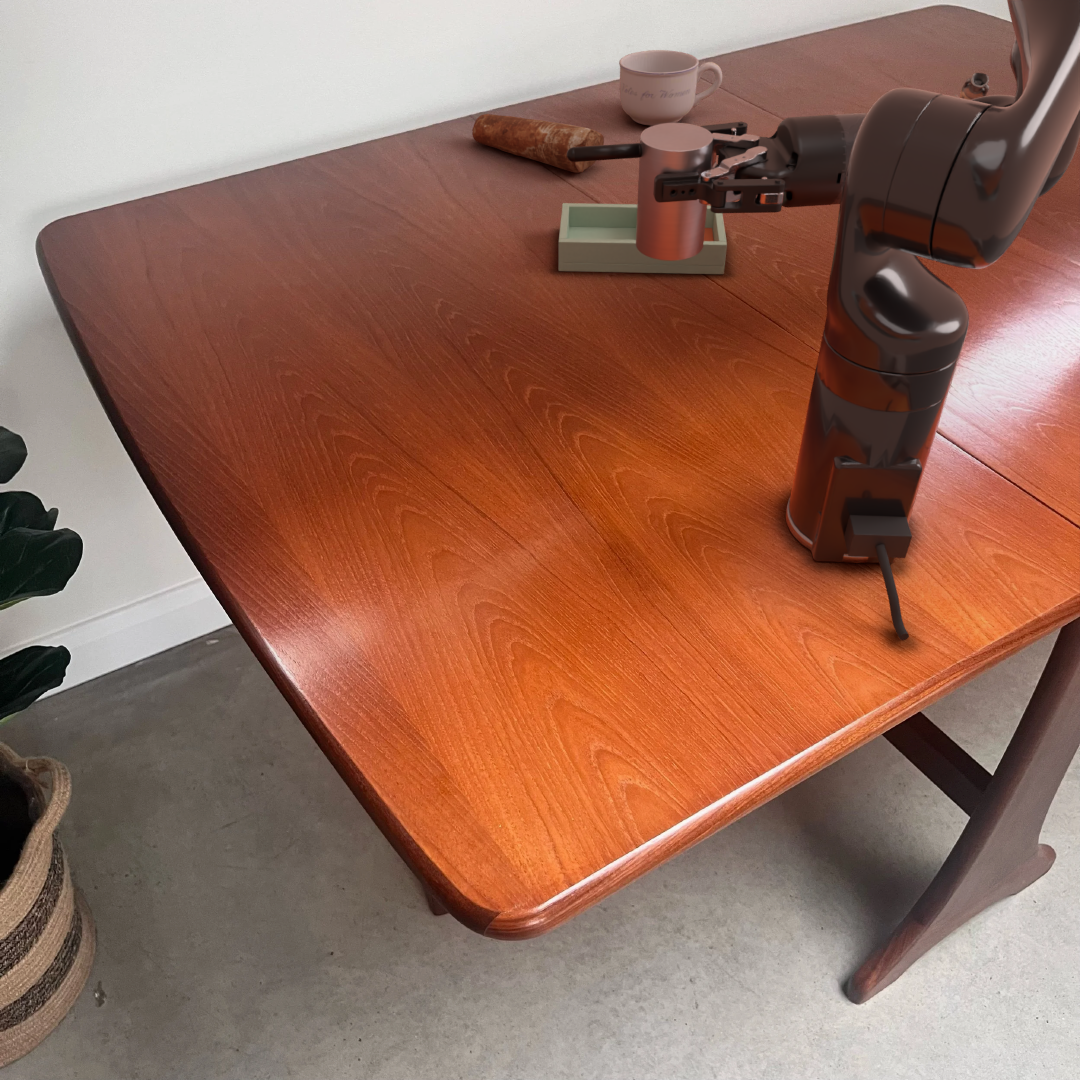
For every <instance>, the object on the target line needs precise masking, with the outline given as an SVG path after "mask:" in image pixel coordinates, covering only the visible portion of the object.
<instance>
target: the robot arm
mask: <svg viewBox="0 0 1080 1080" xmlns="http://www.w3.org/2000/svg"><path fill="white" fill-rule="evenodd" d="M1006 1H1007V6H1008V11H1009V16H1010V20H1011V24H1012V28H1013V32H1014V35H1015V37H1014V40H1013V43H1012V46H1011V49H1010V53H1009V65H1010V68H1011V71H1012V73H1013V77H1014V79H1015V83H1016V84H1015V85H1016V91H1015V95H1009V94H990V95H986V96H983V97H979V98H975V99H971V100H968V99H963V98H960V96H955V95H954V96H953V95H949V94H943V93H939V92H935V91H930V90H925V89H919V88H915V87H903V86H902V87H896V88H892V89H890V90H888V91H887V92H885V93H883V94H882V95H880V97H879V98H877V100H876V101H875V102H874V103H873V104H872V105H871V107H870V108H869V110H868V111H867V113H866V112H854V113H853V112H852V113H836V114H820V115H819V114H818V115H805V116H789V117H786V118H784V119H782V120H781V121H780V123H779V124H778V126H777V128H776V131H775V132H774V133H773V134H772V136H770V137H768V136H759V135H756V134H748V133H747V132H748V123H747V122H744V121H735V122H725V123H717V124H708V125H699V126H700V127H703V128H705V129H707V130H708V131H709V132H711V134H712V135H713V146H712V157H711V167H710V170H708V171H705V172H702V173H701V177H699V174H698V172H687V173H671V174H659V175H657V176H656V177H655V179H654V191H653V195H654V198H655V200H656V201H657V202H659V203H661V202H676V201H691V200H697V199H699V203H701V204H706V205H707V206H708V205H709V206H711V209H710V210H711V212H713V213H722V214H760V213H761V214H762V213H763V214H764V213H769V214H770V213H780V212H781V211H782V208H783V207H784V208H803V207H817V206H819V207H820V206H831V205H839V210H838V219H837V224H836V225H837V226H836V232H835V239H834V240H835V242H834V246H833V247H834V249H833V255H832V262H831V267H830V268H831V269H830V273H829V279H828V285H827V292H826V316H825V321H824V326H823V327H824V328H823V331H822V336H821V340H820V346H819V352H818V356H817V361H816V365H815V370H814V375H813V380H812V385H811V390H810V395H809V400H808V405H807V406H808V407H807V411H806V415H805V420H804V425H803V430H802V434H801V435H802V436H801V440H800V446H799V450H798V454H797V455H798V456H797V459H796V460H797V461H796V466H795V471H794V475H793V481H792V487H791V492H790V496H789V498H788V501H787V506H786V511H785V522H786V525H787V527H788V529H789V531H790V533H791V534H792V536H793V537H794V538H795V539H796V540H797V541H798V543H800V544H801V545H802V546H804V547H805V548H806V549H808V550H809V551H810V553H811V555H812V559H813V560H814V561H816V562H833V563H834V562H836V563H852V564H853V563H854V564H855V563H856V564H858V563H859V564H860V563H862V564H863V563H864V564H865V563H866V564H879V567H880V571H881V574H882V579H883V583H884V586H885V590H886V594H887V599H888V603H889V604H888V605H889V611H890V617H891V621H892V624H893V625H892V626H893V628H894V631H895V633H896V635H897V637H898V639H899V640H901V641H906V640H907V639H909V638H910V635H909V632H908V630H907V629H906V627H905V624H904V621H903V617H902V611H901V604H900V598H899V595H898V590H897V586H896V582H895V578H894V573H893V570H892V567H891V564H894V563H895V562H896V559H906V556H907V554H908V551H909V548H910V544H911V541H912V538H913V534H912V532H911V527H910V525H909V523H910V519H911V516H912V513H913V509H914V507H915V502H916V500H917V497H918V493H919V489H920V486H921V482H922V480H923V476H924V473H925V469H926V467H927V463H928V459H929V456H930V453H931V450H932V447H933V443H934V440H935V437H936V434H937V430H938V427H939V424H940V422H941V421H940V420H941V418H942V414H943V411H944V408H945V404H946V402H947V398H948V395H949V392H950V389H951V386H952V383H953V379H954V377H955V374H956V373H955V372H956V369H957V366H958V363H959V360H960V356H961V353H962V351H963V347H964V345H965V341H966V338H967V334H968V329H969V326H970V315H969V310H968V308H967V305H966V303H965V301H964V300H963V298H962V297H961V295H960V294H959V293H958V292H957V291H956V290H955V289H954V288H953V287H952V286H950V285H949V284H947V283H946V282H945V281H944V280H942V279H941V278H940V277H939V276H937V274H935V273H934V272H932V271H931V270H930V269H929V268H928V267H927V266H926V265H925V264H924V263H923V261H921V259H920V258H923V259H926V260H929V261H933V262H934V261H935V262H937V263H940V264H943V265H947V266H951V267H955V268H962V269H966V270H967V269H968V270H982V269H986V268H988V267H990V266H992V265H993V264H995V263H996V262H997V261H999V259H1001V257H1003V256H1004V255H1005V253H1006V252H1007V251H1008V250H1009V249H1010V247H1011V246H1012V245H1013V243H1014V241H1015V240H1016V239H1017V237H1018V235H1019V234H1020V233H1021V231H1022V229H1023V227H1024V226H1025V224H1026V222H1027V220H1028V219H1029V216H1030V214H1031V213H1032V210H1033V208H1034V206H1035V204H1036V203H1037V201H1038V199H1039V198H1041V197H1043V196H1044V195H1045V194H1047V193H1048V192H1050V190H1052V189H1053V188H1054V187H1055V186H1056V184H1058V182H1059V181H1060V180H1061V178H1062V177H1063V176H1064V174H1065V173H1066V172H1067V170H1068V168H1069V167H1070V164H1071V163H1072V160H1073V158H1074V155H1075V153H1076V151H1077V148H1078V145H1079V141H1080V0H1006ZM919 257H920V258H919Z"/></svg>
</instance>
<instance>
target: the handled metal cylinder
mask: <svg viewBox="0 0 1080 1080" xmlns="http://www.w3.org/2000/svg"><path fill="white" fill-rule="evenodd" d="M700 126H701V125H696V124H692V123H686V122H676V123H664V124H658V125H654V126H648V127H646V128H645V129H644V130H643V131H642V132H641V133H640V138H639V142H631V143H617V144H604V145H599V146H583V147H572V148H570V149H569V150H568V151H567V158H568V160H569V161H571V162H582V161H595V162H597V161H611V160H612V161H613V160H624V159H625V160H626V159H639V160H638V180H637V181H638V182H637V183H638V184H637V187H638V188H637V203H636V204H637V225H636V247H637V249H638V250H639V251H640V252H641V253H642V254H644V255H646V256H648V257H651V258H654V259H659V260H669V261H674V260H683V259H687V258H691V257H693V256H695V255H697V254H698V253H700V252H701V250H702V249H703V244H704V233H705V222H706V211H707V206H708V204H707V205H706V204H701V203H699V199H697V200H691V201H676V202H661V203H659V202H657V201H656V200H655V198H654V195H653V191H654V179H655V177H656V176H657V175H659V174H671V173H687V172H698V174H699V177H701V173H702V172H705V171H708V170H710V167H711V157H712V146H713V135H712V134H711V132H709V131H708V130H707V129H705V128H703V127H700Z"/></svg>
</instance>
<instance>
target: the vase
mask: <svg viewBox="0 0 1080 1080" xmlns="http://www.w3.org/2000/svg"><path fill="white" fill-rule="evenodd" d="M964 77H965V76H962V79H963V78H964ZM989 82H990V76H989V74H986V73H983V72H974V73H973V74H972V76H971V77H970V78H966V79H965V81H964V83H963V85H962V87H961V89H960V93H959V98H963V99H968V100H971V99H975V98H979V97H983V96H987V94H988V92H989V91H990V85H989ZM954 97H957V94H954Z"/></svg>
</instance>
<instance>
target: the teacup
mask: <svg viewBox="0 0 1080 1080" xmlns="http://www.w3.org/2000/svg"><path fill="white" fill-rule="evenodd" d="M699 64H700V62H699V59H698V58H697V57H696V56H694V55H692V54H689V53H686V52H683V51H676V50H667V49H651V50H641V51H636V52H632V53H631V52H630V53H629V54H626V55H624V56H622V57H621V58H620V59H619V61H618V65H619V101H620V105H621V108H622V110H623V112H625V114H627V115H628V116H629V117H630V118H631V120H633V121H634V122H635V123H637V124H640V125H643V126H649V127H651V126H654V125H658V124H664V123H679V122H680V121H681V120H682V119H683V118H684V117H685V116H686V115H687V114H689V112H691V110H692V108H696V107H697V106H698V105H699V104H700V103H701V101H703V100H705V99H707V98H709V97H711V96H712V95H713V94H714V93H715V92H717V91H718V89H719V88H720V87H721V85H722V82H723V72H722V69H721V67H720V66H719V65H718V64H717V63H715V62H713V61H708V62H707V61H706V62H704V63H702V64H700V65H699ZM707 71H708V72H709V71H711V72H713V74H714V82H713V83H712V84H711V85H710V86H709V87H707V89H705V90H703V91H701V92H698V93H697V85H698V83H699V82H700V81H701V77H702V76H703V74H704V73H705V72H707Z"/></svg>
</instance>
